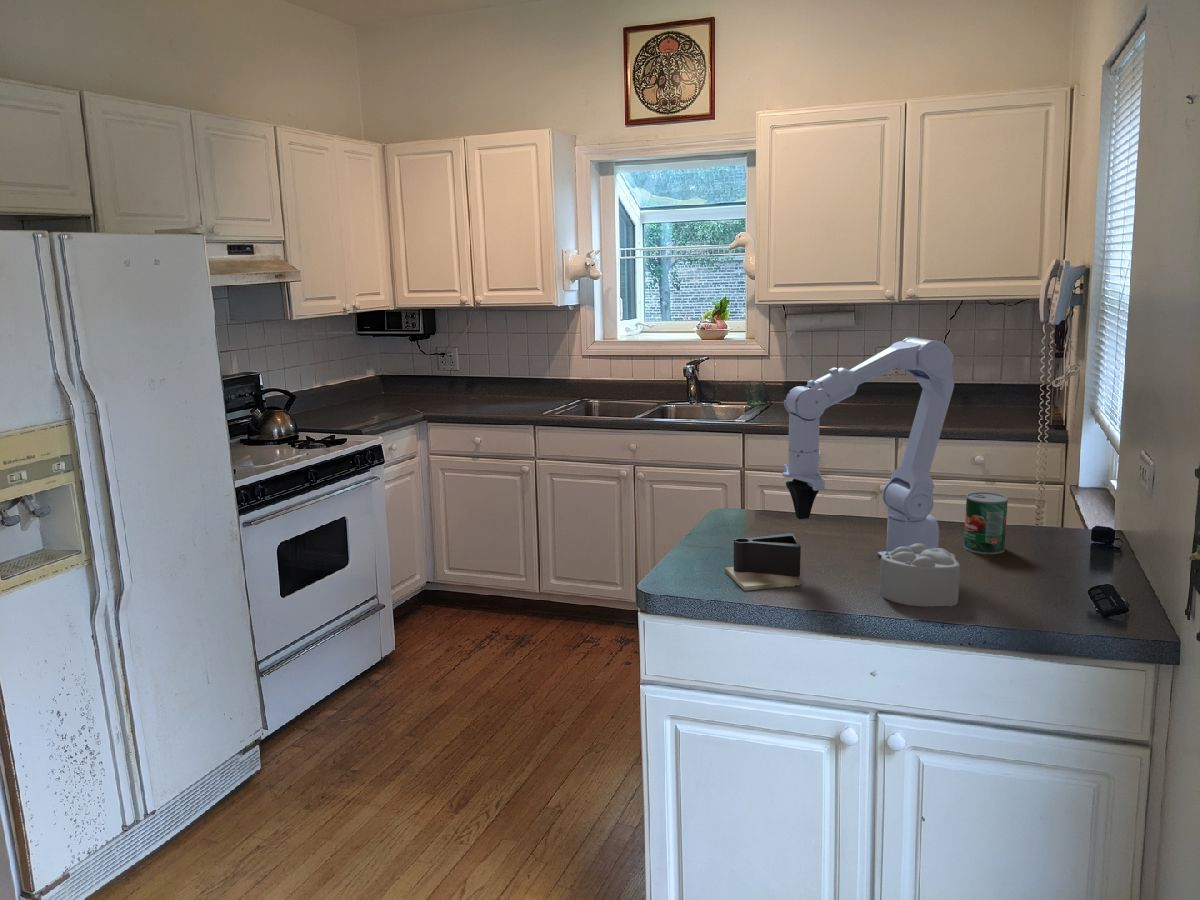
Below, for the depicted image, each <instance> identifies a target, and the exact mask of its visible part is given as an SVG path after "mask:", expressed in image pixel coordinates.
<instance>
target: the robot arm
mask: <svg viewBox="0 0 1200 900" xmlns="http://www.w3.org/2000/svg"><path fill="white" fill-rule="evenodd" d="M954 357H955V356H954V354H953V353H952V351H951V350H950V349H949V347H948V346H947V344H945V343H944V342H943V341H942V340H941V341H940V340H936V339H935V340H930V339H925V338H919V337H917V336H908V337H906V338H904V339H903V340H901V341H900V340H899V341H897V342H894V343H892V344H891V345H890V346H888V347H887V348H886V349H884V350H882V351H880V352H878V353H876V354H875V355H873V356H871V357H870V358H867V359H866V360H865V361H863V362H861V363H859V364H857V365H856V366H854V367H853V368H851V369H847V368H845V367H839V368H837V367H834V366H833V367H832V368H829V369H828V372H829V373H826V374H825V375H822V376H821V377H818V378H816V379H815V380H813V379H810V380H808V381H807V384H806V385H805V386H803V385H799V386H797V385H796V386H795V387H793V388H791V389H790V390H789V391H788V393H787V395H786V397H785V400H783V406H784V408H785V410H786V411H787V412H788V463H786V464H783V472H782V477H784V478H786V479H792V480H791V481H790V480H788V481H786V482H785V486H786V487H787V489H788V491H789V494H790V497H791V499H792V503H793V508H794V514H795V516H796V518H797V519H798V520H805V519H806V520H807V519H810V516H811V512H812V508H813V505H814V503H815V502H814V501H815V499H816V497H817V495H818V493H819V492H820V491H825V490H826V489H825V487H826V486H825V485H826V484H825V482H826V480H825V479H823V478H822V475H821V472H820V471H819V469H820V467H819V465H820V418H821V416H823V414H824V413H825V410H826V409H828V408H830V407H832V406H833V405H836V404H837V403H840V402H841V401H844V400H846V399H847V398H850V397H851V396H854V395H855V394H856V392H857V389H858V387H859V385H861V384H864V383H866V382H869V381H871V380H873V379H875V378H877V377H880V376H882V375H884V374H886V373H888V372H891V371H893V370H895V369H896V370H898V369H899V370H905V371H907V372H909V373H911V375H913V376H914V378H915V380H916V381H917V382H918V384H919V385H920V387H921V388H922V390H921V394H920V399H919V401H918V405H917V408H916V411H915V416H914V419H913V422H912V426H911V430H910V433H909V436H908V440H907V443H906V448H905V451H904V454H903V457H902V461H901V465H900V466H899V467H897V468H896V469H895V470H894V471H892V472H891V476H890V479H889V480H888V482H887V483H886V484H885V485H884V487H883V489H882V500H883V503H884V505H886V507H887V524H886V526H887V527H886V550H885V551H877V555H878V556H880V558H881V557H882V555H883V554H885V553H887V552H890V551H893V550H894V549H896V548H897V547H901V546H904V547H909V546H910V545H913V544H916V543H920V544H924V545H925V546H926V547H927V548H928V549H932V548H939V540H940V538H939V537H940V528H939V527H940V526H939V523H938V520H937V519H936V518H935V517H934V516H933V515H932V514H931V513H932V511H933V508H934V498H933V497H934V496H933V492H934V489H935V485H934V481H933V479H932V477H931V473H930V471H931V469H932V465H933V463H934V462H933V461H934V457H935V454H936V451H937V447H938V444H939V441H940V437H941V434H942V430H943V426H944V424H945V423H944V422H945V420H946V416H947V413H948V410H949V405H950V403H951V400H952V399H951V398H952V395H953V391H954V388H955V379H954V374H953V367H952V365H953V362H954V361H953V360H954Z"/></svg>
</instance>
